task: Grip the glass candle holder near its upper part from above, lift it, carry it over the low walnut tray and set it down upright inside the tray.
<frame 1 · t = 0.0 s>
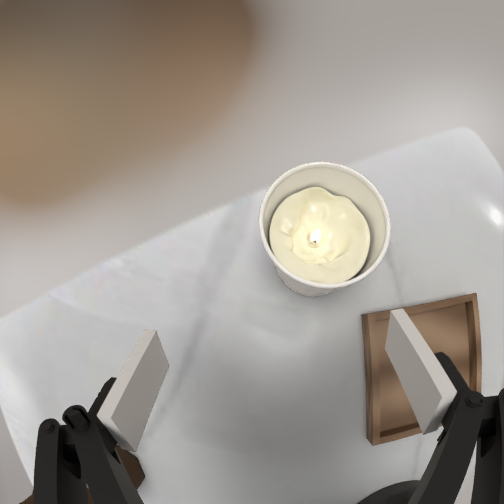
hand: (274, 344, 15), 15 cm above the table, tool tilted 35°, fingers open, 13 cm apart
candle holder: (312, 259, 32), on the table
beer bottle: (121, 466, 27), on the table
tray: (423, 366, 27), on the table
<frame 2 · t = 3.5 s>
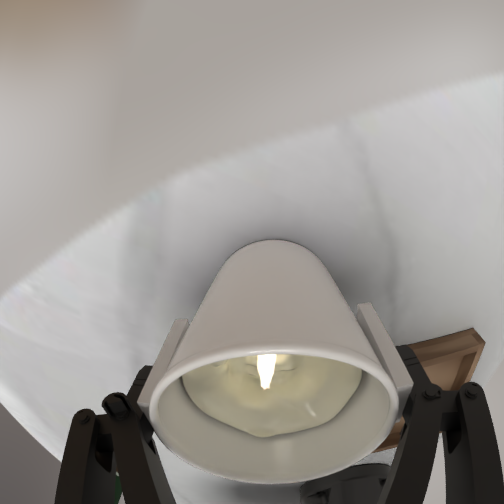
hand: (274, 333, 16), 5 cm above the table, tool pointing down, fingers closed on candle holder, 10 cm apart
candle holder: (273, 292, 21), on the table, touching gripper
tray: (398, 396, 24), on the table
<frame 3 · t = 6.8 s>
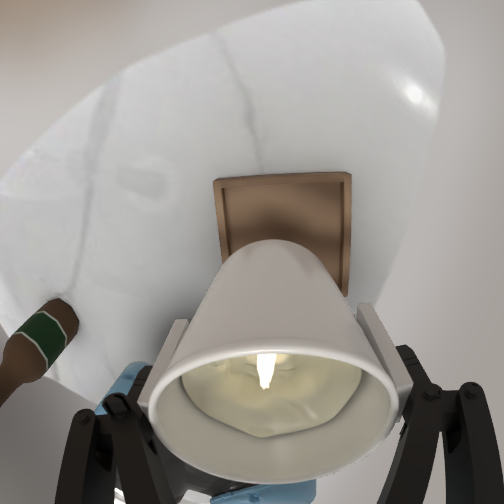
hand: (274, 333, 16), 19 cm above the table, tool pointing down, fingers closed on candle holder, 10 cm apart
candle holder: (272, 292, 21), point 14 cm above the table, touching gripper
beer bottle: (64, 315, 42), on the table
tray: (285, 235, 34), on the table
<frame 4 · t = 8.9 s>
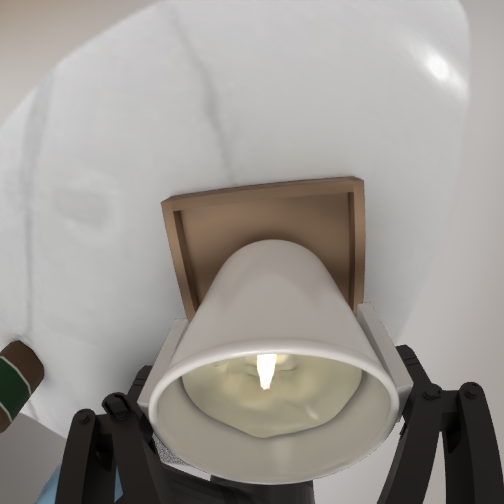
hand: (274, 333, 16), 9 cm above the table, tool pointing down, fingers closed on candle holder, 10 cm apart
candle holder: (273, 292, 21), point 4 cm above the table, touching gripper
beer bottle: (28, 358, 32), on the table
tray: (271, 271, 24), on the table
when the fingers open (6 cm above the table, at t = 10.5 s): candle holder stays where it is, resting on tray.
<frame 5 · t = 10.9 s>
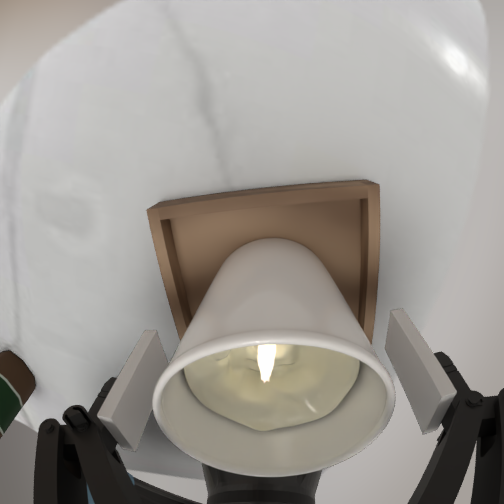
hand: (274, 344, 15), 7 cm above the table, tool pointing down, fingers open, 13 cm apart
candle holder: (272, 289, 21), point 1 cm above the table, touching tray
beer bottle: (19, 368, 29), on the table
tray: (272, 285, 22), on the table
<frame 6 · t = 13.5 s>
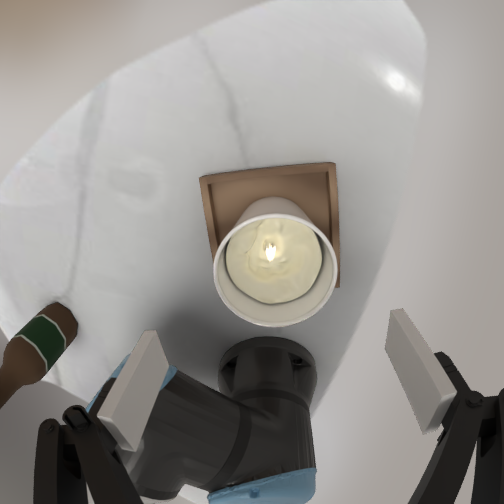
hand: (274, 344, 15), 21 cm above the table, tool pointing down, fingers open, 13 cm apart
candle holder: (273, 230, 34), point 1 cm above the table, touching tray
beer bottle: (63, 319, 42), on the table
tray: (273, 228, 34), on the table
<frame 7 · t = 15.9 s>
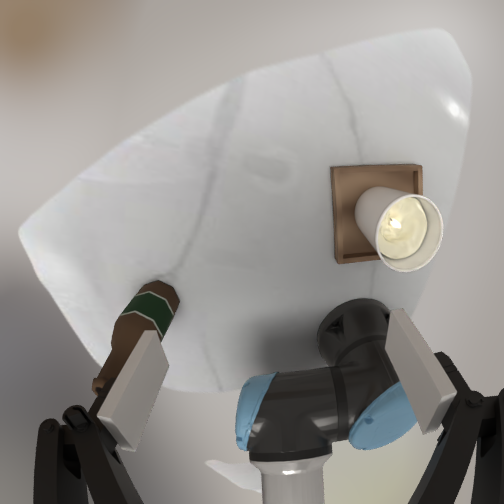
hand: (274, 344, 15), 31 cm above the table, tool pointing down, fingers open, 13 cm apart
candle holder: (377, 211, 42), point 1 cm above the table, touching tray
beer bottle: (160, 297, 50), on the table
tray: (376, 210, 43), on the table
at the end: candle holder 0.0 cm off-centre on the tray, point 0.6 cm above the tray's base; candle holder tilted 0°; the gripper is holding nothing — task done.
